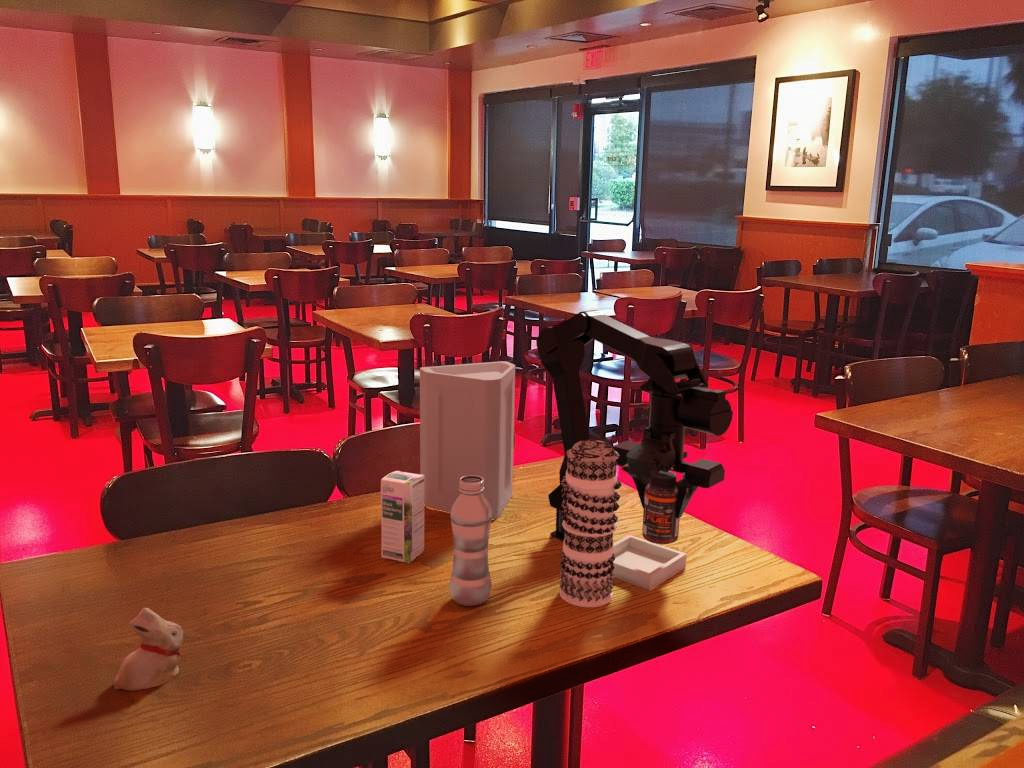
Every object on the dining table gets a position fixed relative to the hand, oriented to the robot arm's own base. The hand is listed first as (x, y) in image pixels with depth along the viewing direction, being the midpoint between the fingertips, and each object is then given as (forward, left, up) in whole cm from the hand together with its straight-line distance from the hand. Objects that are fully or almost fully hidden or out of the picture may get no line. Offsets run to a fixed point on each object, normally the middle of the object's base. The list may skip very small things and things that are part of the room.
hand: (661, 512), depth 135 cm
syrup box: (-37, -24, -11) cm, 45 cm away
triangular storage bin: (-43, +1, -11) cm, 44 cm away
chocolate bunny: (-33, -71, -11) cm, 79 cm away
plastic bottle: (-17, -28, -11) cm, 35 cm away
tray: (-4, 0, -11) cm, 12 cm away
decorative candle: (-5, -14, -11) cm, 18 cm away
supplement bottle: (0, 0, -5) cm, 5 cm away
